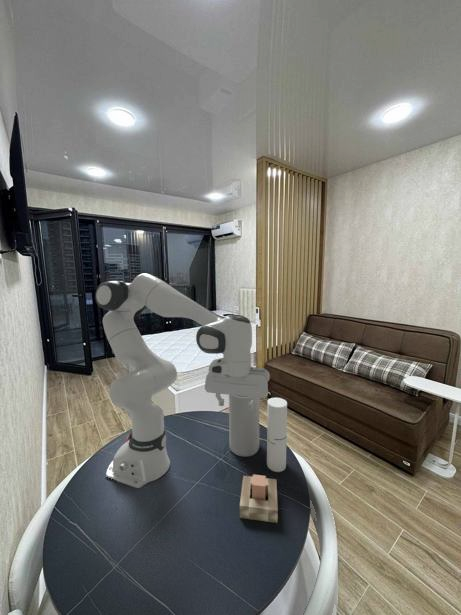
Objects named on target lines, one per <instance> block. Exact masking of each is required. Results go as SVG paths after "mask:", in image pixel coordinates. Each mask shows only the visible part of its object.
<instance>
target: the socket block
mask: <svg viewBox="0 0 461 615" xmlns="http://www.w3.org/2000/svg"><path fill="white" fill-rule="evenodd" d="M252 481H253V476H251V475H250V476H249V475H243V477H242V483H241V492H240V501H239V518H240V519H248V520H253V521H260V522H261V521H262V522H268V523H275V524H278V518H279V515H278V511H279V508H278V507H279V506H278V505H279V504H278V489H277V488H278V487H277V478H275V479H274V478H268V477H266V485H265V497H267V500H266V499H265V500H257V499H252Z"/></svg>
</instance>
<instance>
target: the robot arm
mask: <svg viewBox="0 0 461 615" xmlns="http://www.w3.org/2000/svg"><path fill="white" fill-rule="evenodd" d="M94 298H95V303H96V304H97V305H98V307H99V308H101V309H103V310H105V311H108V312H106V314H104V316H103V318H102V326H103V330H104V334H105V336H106V339H107V341H108V343H109V345H110V348H111V350H112V352H113V354H114V357H115V359H116V360H117V361H118V362H120V364H126V365H129V366H131V367H133V368H134V370H131V371H129V372H126V373H124V374H122V375H121V376H119V377H117V378H115V379H114V380H113V381H112V382H111V384H110V387H109V391H108V392H109V393H108V394H109V398H110V400H111V402H112V403H113V405H115V406H116V407H118V408H120V409H124V410H125V411H126V412H127V413H128V415H129V417H130V420H131V430H132V431H130V432H129V434H128V436H127V437H126V438H125V440H126V441H125V442H124V443H123V444H122V445H121V446H120V447H119V448H118V450H117V452H116V453H115V454H114V457H113V460H112V461H111V463H110V464H109V465H108V467H107V469H106V472H105V477H106V478H107V477H108V478H107V479H109V478H111V479H110V480H112V479H114V480H113V481H115V480H116V482H118V483H121V484H124V485H127V486H130V487H133V488H136V489H140V488H142V487H144V486H145V485H146V484H148V483H150V482H151V483H152V482H154V481H156V480H158V479H159V478H162V477H163V475H165V474H166V473H167V472H168V470H169V468H170V465H171V460H170V458H169V455H168V452H167V447H166V446H167V445H166V443H167V436H166V428H165V421H164V420H165V418H164V417H165V416H164V409H163V408H162V407H161V406H160V405H159V404H157V403H154V402H152V397H154V396H156V395H157V394H160V393H161V392H163V391H165V390H167V389H168V388H169V387H171V386H172V385H173V384H174V383H175V382H176V380H177V377H178V372H177V369H176V366H175V365H174V364H173V363H172V362H171V361H169V360H166V359H163V358H161V357H160V356H158V355H156V353H155V352H153V351H152V350H151V349H150V348H149V346H148V345H147V343H146V341H145V340H144V338H143V337H142V334H141V333H140V330H139V329H138V327H137V325H136V323H135V321H134V319H135V318H134V317H139V316H141V314H142V312H144V311H145V310H147V309H149V310H150V311H151V312H153V313H155V314H156V315H158V316H160V317H162V318H186V319H190V320H193V321H195V322H196V323H198V324H199V325H201V327H199V329H197V331H196V334H195V335H196V336H195V340H196V345H197V347H198V348H199V349H200V350H201V351H202V352H203V353H205V354H212V355H213V354H214V355H215V354H222V355H223V357H221V358H215V359H213V360H212V361H211V362H210V364H209V366H208V372H207V374H206V377H205V382H204V390H205V391H206V393H209V394H210V393H211V394H215V397H216V399H217V401H218V406H219V407H224V406H225V399H224V398H222V395H228V396H229V395H237V396H246V397H252V401H251V402H248V409H252V408H253V404H254V403H255V401H256V398H260V399H266V398H268V394H269V388H268V387H269V386H268V382H269V381H270V380H271V379H270V378H271V374H270V372H269V370H267V369H266V368H263V367H254V366H252V354H251V353H252V352H251V349H252V347H253V346H252V345H253V330H252V329H253V328H252V327H253V326H252V323H251V321H250V319H249V318H248V317H247V316H244V315H240V314H233V313H232V314H231V313H230V314H228V315H227V316H220V315H218V314H216V313H215V312H214V311H212V310H210V309H208V308H207V307H206V306H203V305H202V304H200V303H198V302H197V301H195V300H193V299H191V298H190V297H188V296H186V295H185V294H183V293H181V292H180V291H178V290H177V289H175V287H172V286H171V285H169V284H168V283H167V282H165V281H164V280H162V279H160V278H159V277H157V276H154V275H153V274H150V273H140V274H138V275H137V276H136V277H135V278H133V280H132V281H131V282H130V283H129V282H125V281H123V280H108V281H104V282H102V283H100V284H99V285H98V286H97V288H96V290H95V294H94Z"/></svg>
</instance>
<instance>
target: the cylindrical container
mask: <svg viewBox="0 0 461 615" xmlns="http://www.w3.org/2000/svg"><path fill="white" fill-rule="evenodd" d="M266 409H267V412H266V414H267V417H266V422H267V423H266V424H267V425H266V426H267V427H266V433H267V434H266V465H267V468H268V469H269V471H270V470H271V471H272V472H276V473H281V472H283V471H285V470H286V468H287V439H288V438H287V437H288V436H287V434H288V433H287V432H288V431H287V429H288V428H287V427H288V402H287V400H286V399H285V398H284V399H283V398H282V397H271V398H268V400H267V408H266Z"/></svg>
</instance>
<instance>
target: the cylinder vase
mask: <svg viewBox="0 0 461 615" xmlns="http://www.w3.org/2000/svg"><path fill="white" fill-rule="evenodd" d="M260 399H261V398H256V401H255V403H254V404H253V408H252V409H248V402H251V401H252V397H246V396H237V395H228V423H229V424H228V425H229V426H228V428H229V429H228V432H229V433H228V434H229V436H228V437H229V438H228V441H229V450H230V451H231V452H232V453H233V454H234V455H236V456H239V457H251V456H254V455H255V454H257V452H258V451H259V449H260Z"/></svg>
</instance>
